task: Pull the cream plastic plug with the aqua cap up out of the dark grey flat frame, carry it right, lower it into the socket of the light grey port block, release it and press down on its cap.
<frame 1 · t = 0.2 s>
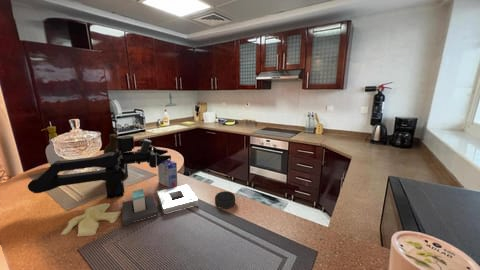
hand: (169, 153, 102), 17 cm above the table, tool horizontal, fingers open, 9 cm apart
olive oil: (118, 178, 111), on the table
cloth: (89, 223, 74), on the table
dark grey flat frame: (139, 210, 81), on the table
ink cartridge box: (168, 183, 105), on the table
soap bottle: (58, 167, 125), on the table
plug: (139, 211, 81), resting in dark grey flat frame
smart speaker: (225, 204, 87), on the table
port block: (177, 201, 88), on the table
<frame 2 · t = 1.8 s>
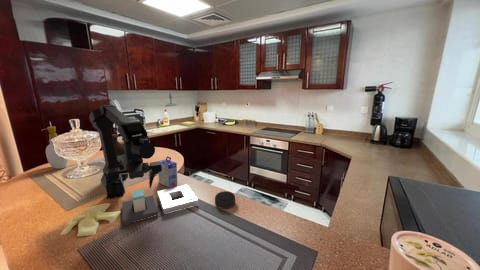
hand: (137, 190, 79), 9 cm above the table, tool pointing down, fingers open, 9 cm apart
nothing on the table moved.
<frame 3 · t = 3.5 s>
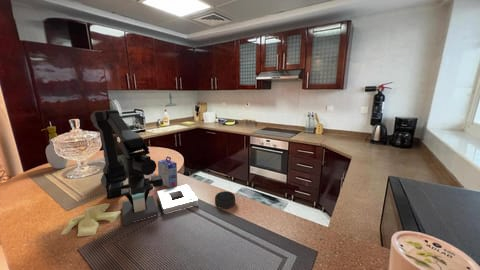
hand: (139, 204, 80), 3 cm above the table, tool pointing down, fingers closed on plug, 4 cm apart
plug: (139, 211, 81), resting in dark grey flat frame, touching gripper
everything else where it was.
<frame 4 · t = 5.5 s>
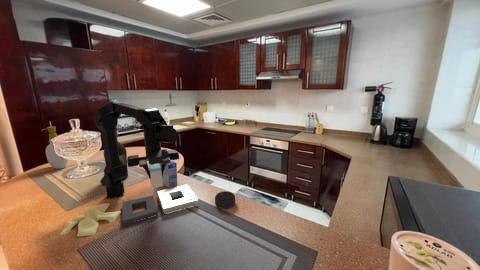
hand: (155, 177, 81), 13 cm above the table, tool pointing down, fingers closed on plug, 4 cm apart
plug: (156, 184, 82), point 10 cm above the table, touching gripper
everything else where it was.
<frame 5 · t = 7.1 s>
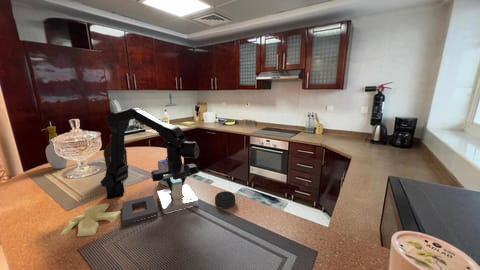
hand: (176, 189, 87), 6 cm above the table, tool pointing down, fingers closed on plug, 4 cm apart
plug: (176, 196, 88), point 3 cm above the table, touching gripper
everything else where it was.
when the fingers open (5 cm above the table, at t = 7.6 s): plug drops 2 cm, resting in port block.
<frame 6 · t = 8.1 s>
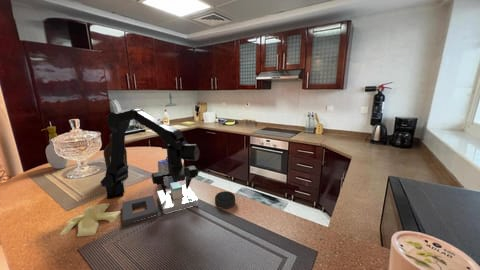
hand: (176, 192, 87), 5 cm above the table, tool pointing down, fingers open, 9 cm apart
plug: (177, 201, 88), resting in port block
everything else where it was.
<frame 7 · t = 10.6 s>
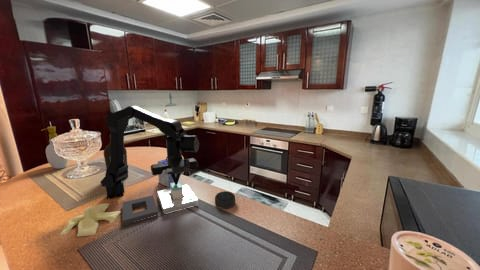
hand: (176, 184, 87), 8 cm above the table, tool pointing down, fingers closed
nothing on the table moved.
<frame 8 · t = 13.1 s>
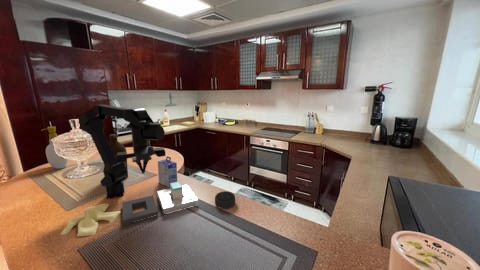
hand: (143, 173, 86), 13 cm above the table, tool pointing down, fingers closed
nothing on the table moved.
at the end: plug 0.1 cm off-centre on the port block, point 0.0 cm above the port block's base; plug tilted 0°; the gripper is holding nothing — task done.
